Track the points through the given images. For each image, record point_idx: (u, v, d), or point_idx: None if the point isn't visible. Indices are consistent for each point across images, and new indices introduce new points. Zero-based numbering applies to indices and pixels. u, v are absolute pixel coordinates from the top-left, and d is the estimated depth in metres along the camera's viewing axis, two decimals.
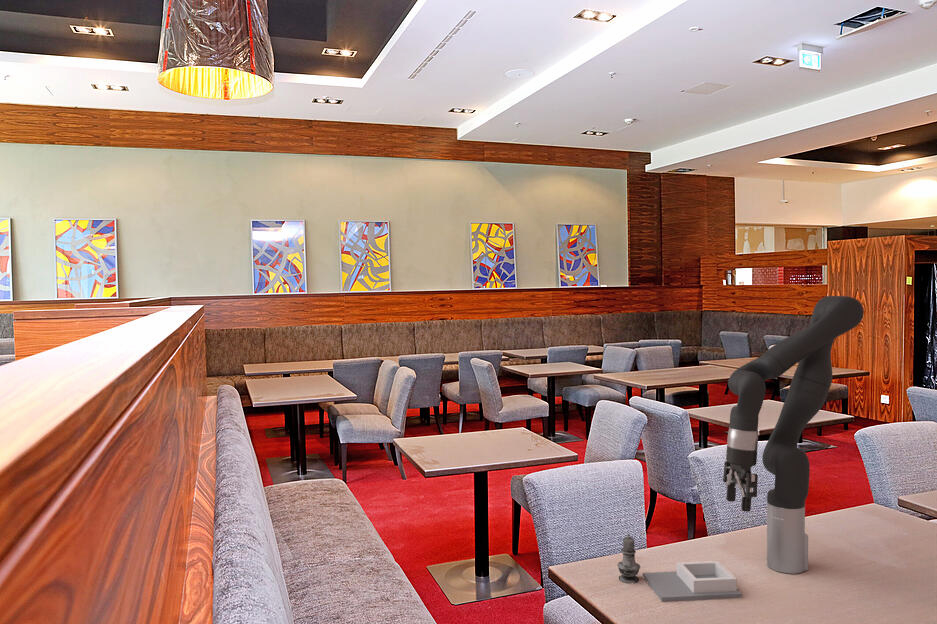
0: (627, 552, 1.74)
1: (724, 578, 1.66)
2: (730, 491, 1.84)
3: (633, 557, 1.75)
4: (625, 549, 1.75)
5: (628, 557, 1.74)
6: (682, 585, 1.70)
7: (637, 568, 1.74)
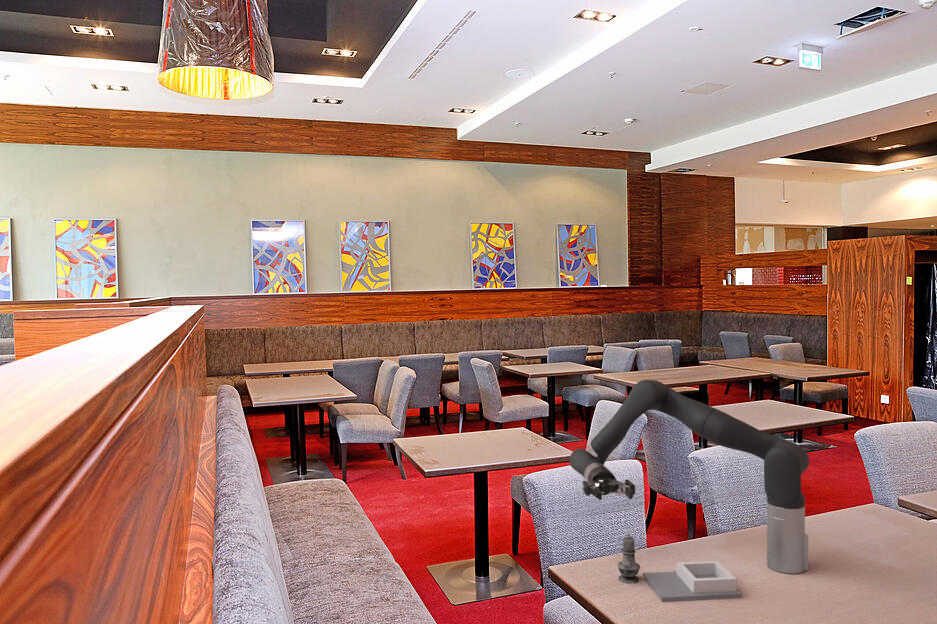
0: (627, 552, 1.74)
1: (724, 578, 1.66)
2: (626, 493, 1.89)
3: (633, 557, 1.75)
4: (625, 549, 1.75)
5: (628, 557, 1.74)
6: (682, 585, 1.70)
7: (637, 568, 1.74)
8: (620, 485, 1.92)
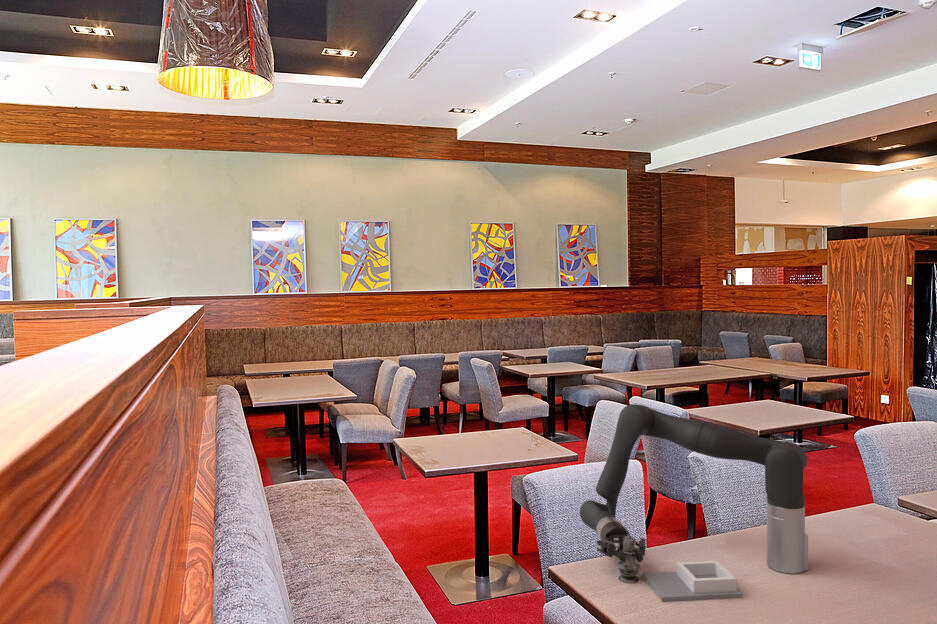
0: (627, 552, 1.74)
1: (724, 578, 1.66)
2: (635, 555, 1.76)
3: (633, 557, 1.75)
4: (625, 549, 1.75)
5: (628, 557, 1.74)
6: (682, 585, 1.70)
7: (637, 568, 1.74)
8: None
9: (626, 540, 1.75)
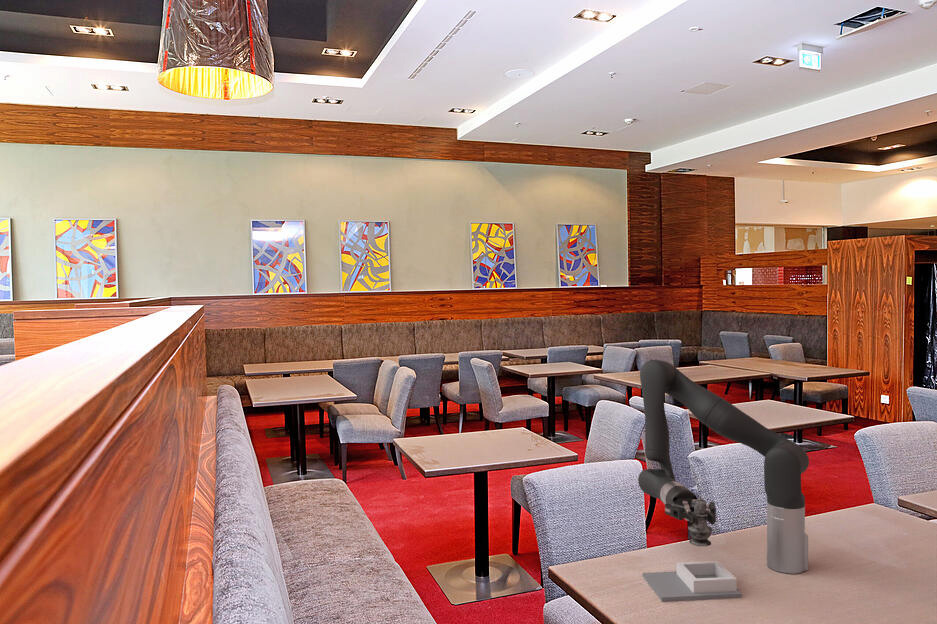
0: (699, 514, 1.69)
1: (724, 578, 1.66)
2: (707, 518, 1.71)
3: (705, 519, 1.70)
4: (697, 511, 1.70)
5: (700, 519, 1.69)
6: (682, 585, 1.70)
7: (710, 531, 1.69)
8: None
9: (698, 502, 1.70)
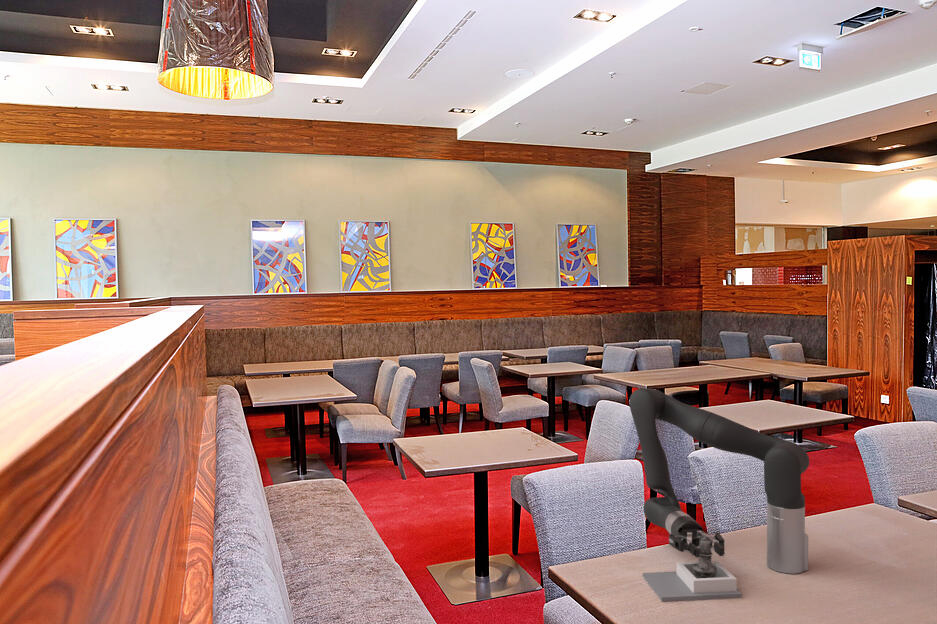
0: (704, 554, 1.70)
1: (724, 578, 1.66)
2: (716, 550, 1.71)
3: (710, 559, 1.70)
4: (702, 551, 1.70)
5: (705, 559, 1.70)
6: (682, 585, 1.70)
7: (714, 570, 1.69)
8: None
9: (703, 542, 1.70)
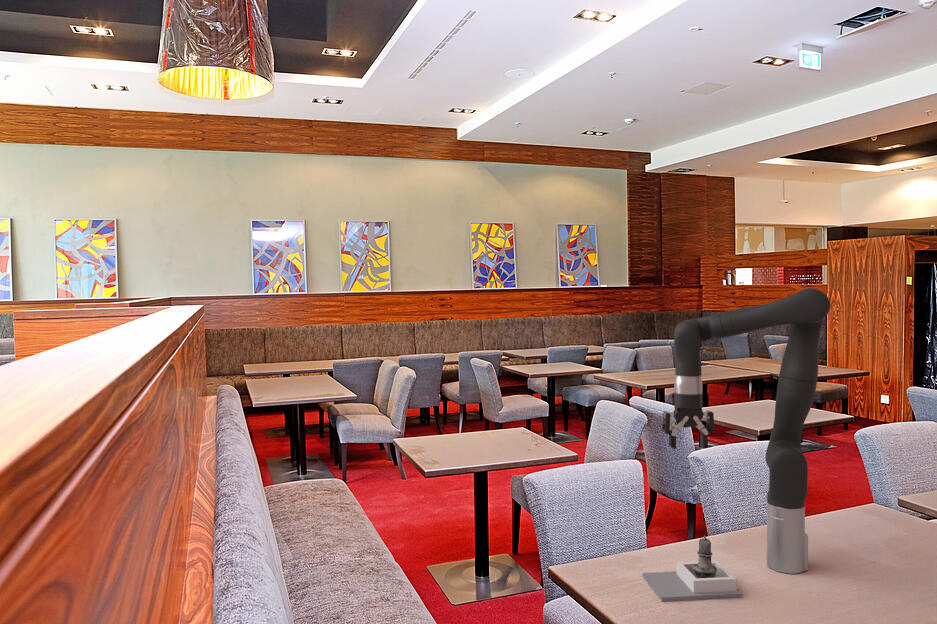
0: (704, 554, 1.70)
1: (724, 578, 1.66)
2: (701, 437, 1.92)
3: (710, 559, 1.70)
4: (702, 551, 1.70)
5: (705, 559, 1.70)
6: (682, 585, 1.70)
7: (714, 571, 1.69)
8: (700, 428, 1.90)
9: (703, 542, 1.70)
